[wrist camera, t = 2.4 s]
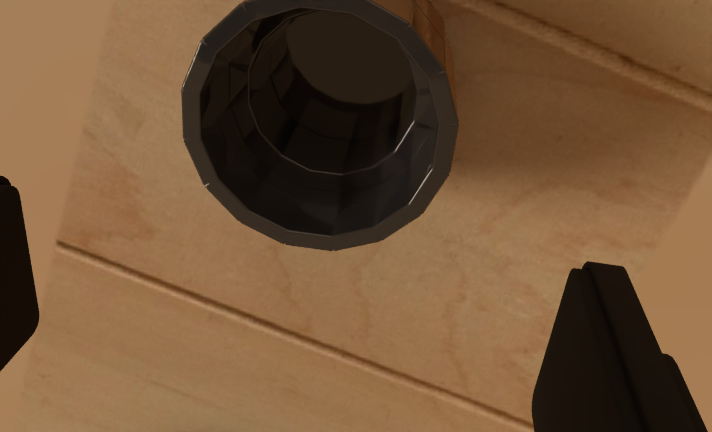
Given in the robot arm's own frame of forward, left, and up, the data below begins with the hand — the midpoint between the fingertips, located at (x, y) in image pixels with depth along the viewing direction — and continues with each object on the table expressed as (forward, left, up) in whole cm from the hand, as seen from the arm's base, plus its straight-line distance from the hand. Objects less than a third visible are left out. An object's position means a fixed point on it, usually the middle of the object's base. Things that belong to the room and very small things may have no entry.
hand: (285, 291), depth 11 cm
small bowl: (-1, 0, -13) cm, 13 cm away
